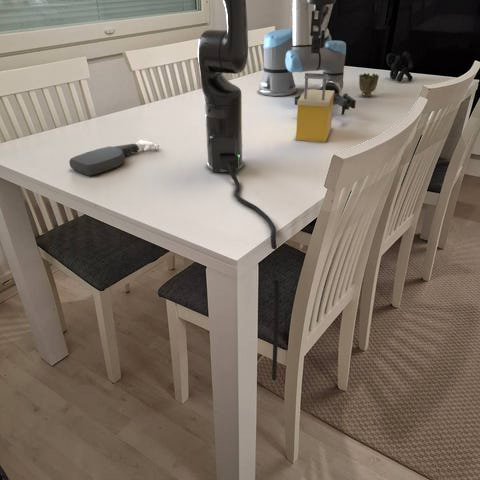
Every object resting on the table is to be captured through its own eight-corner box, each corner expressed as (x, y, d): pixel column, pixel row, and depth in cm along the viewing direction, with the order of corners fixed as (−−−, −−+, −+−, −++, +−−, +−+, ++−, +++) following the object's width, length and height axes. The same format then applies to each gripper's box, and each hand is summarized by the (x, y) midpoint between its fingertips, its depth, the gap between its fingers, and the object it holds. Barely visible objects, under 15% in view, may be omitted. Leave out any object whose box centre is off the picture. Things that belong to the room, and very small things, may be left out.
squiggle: (400, 92, 202) (376, 71, 205) (417, 76, 202) (392, 56, 205) (405, 81, 191) (380, 59, 194) (423, 64, 191) (397, 42, 194)
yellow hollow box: (325, 142, 134) (328, 106, 128) (295, 139, 136) (297, 104, 131) (330, 128, 145) (334, 94, 139) (303, 126, 147) (305, 93, 141)
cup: (354, 97, 177) (357, 76, 172) (359, 92, 182) (362, 72, 178) (373, 99, 174) (376, 77, 169) (378, 94, 179) (381, 73, 175)
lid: (328, 106, 128) (331, 76, 123) (297, 104, 130) (298, 74, 126) (334, 94, 139) (336, 66, 134) (305, 92, 141) (307, 64, 137)
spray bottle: (67, 168, 120) (139, 144, 136) (91, 178, 114) (163, 151, 130) (65, 157, 118) (137, 134, 134) (89, 167, 112) (162, 142, 128)
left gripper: (312, -19, 121) (308, 46, 130) (303, -16, 110) (299, 54, 118) (340, -19, 119) (334, 46, 128) (333, -16, 108) (327, 55, 116)
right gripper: (363, 105, 159) (359, 123, 142) (294, 101, 165) (282, 117, 148) (366, 83, 155) (362, 99, 138) (295, 80, 161) (283, 94, 144)
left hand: (317, 50), depth 123 cm, fingers open, 8 cm apart
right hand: (321, 108), depth 143 cm, fingers open, 13 cm apart
